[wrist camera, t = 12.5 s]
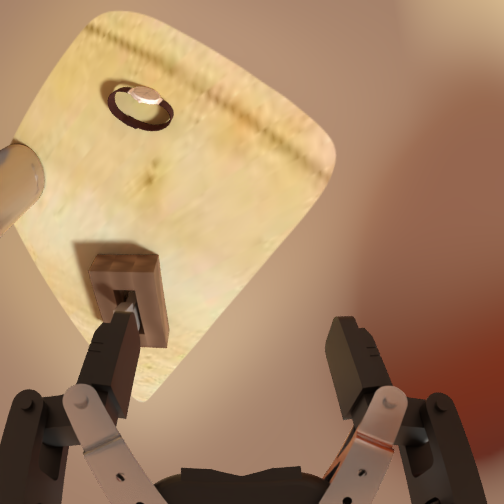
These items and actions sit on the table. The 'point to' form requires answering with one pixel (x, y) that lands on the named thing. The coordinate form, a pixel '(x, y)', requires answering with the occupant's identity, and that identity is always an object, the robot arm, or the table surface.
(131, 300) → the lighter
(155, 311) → the slot stand
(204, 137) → the table surface
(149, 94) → the watch
